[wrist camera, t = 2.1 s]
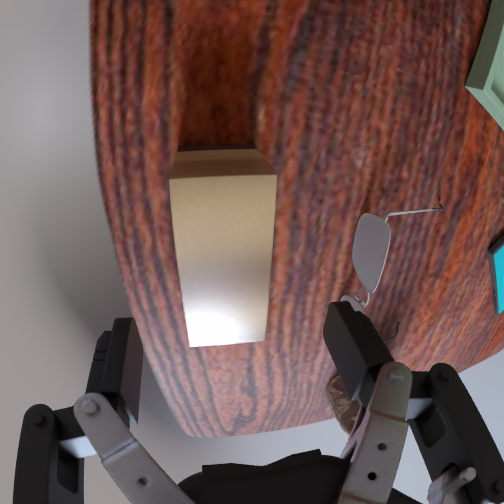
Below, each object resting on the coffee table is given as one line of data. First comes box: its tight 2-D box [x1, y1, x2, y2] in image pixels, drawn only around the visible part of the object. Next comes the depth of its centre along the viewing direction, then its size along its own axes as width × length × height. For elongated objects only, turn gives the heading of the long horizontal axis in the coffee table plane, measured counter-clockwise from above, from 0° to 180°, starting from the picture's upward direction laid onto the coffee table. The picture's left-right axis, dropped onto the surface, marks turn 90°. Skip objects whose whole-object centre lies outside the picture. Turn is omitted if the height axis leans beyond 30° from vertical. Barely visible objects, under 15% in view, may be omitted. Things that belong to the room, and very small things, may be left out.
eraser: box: [169, 145, 277, 347], centre depth 18 cm, size 10×4×6 cm, turn 178°
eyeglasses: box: [340, 203, 443, 342], centre depth 24 cm, size 14×8×4 cm, turn 178°
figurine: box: [326, 375, 362, 437], centre depth 29 cm, size 7×7×12 cm
